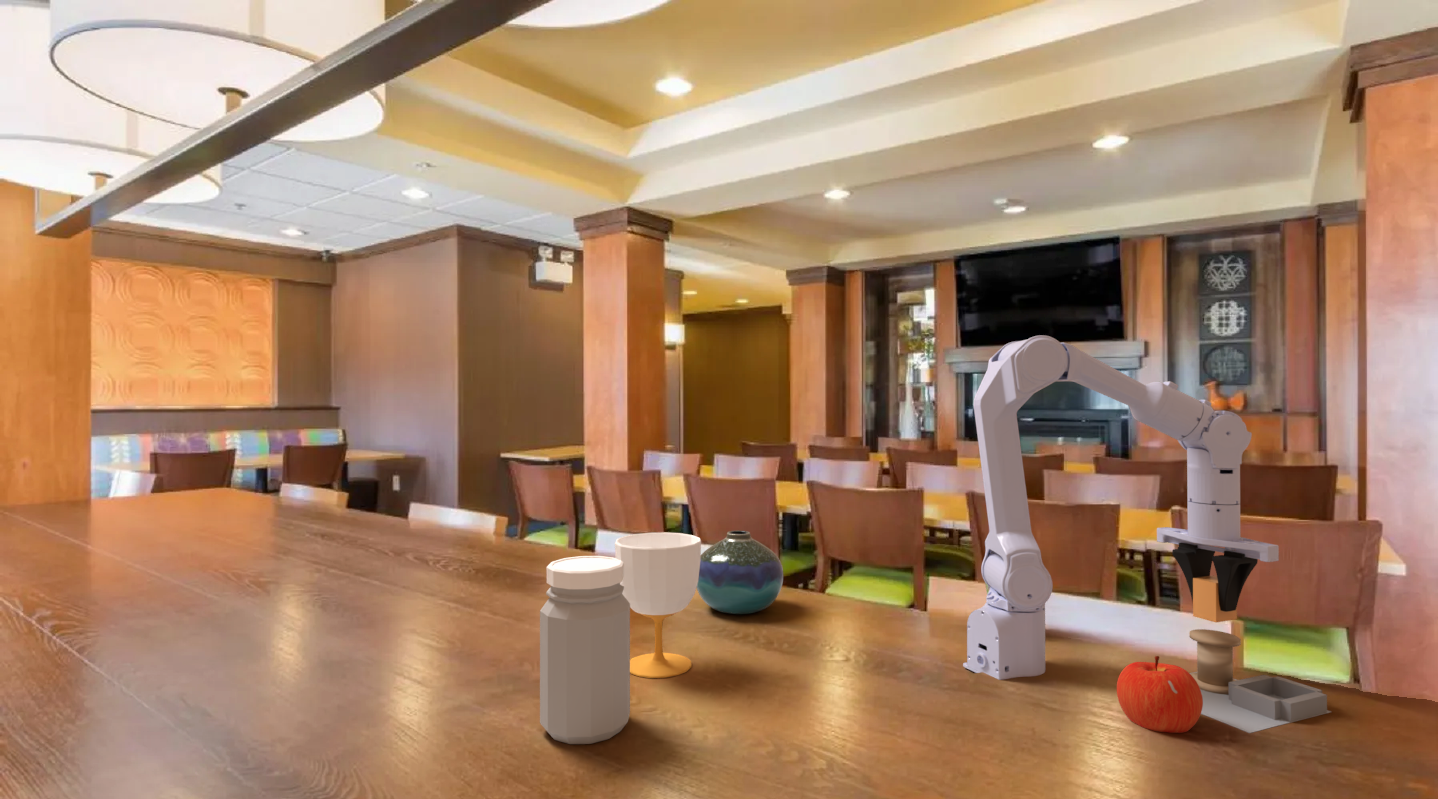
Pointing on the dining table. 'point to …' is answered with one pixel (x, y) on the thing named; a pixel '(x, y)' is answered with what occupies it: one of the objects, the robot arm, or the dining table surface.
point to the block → (1209, 600)
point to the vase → (739, 575)
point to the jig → (1264, 703)
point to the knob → (1214, 659)
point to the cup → (659, 589)
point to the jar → (585, 650)
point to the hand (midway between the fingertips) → (1214, 606)
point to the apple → (1159, 696)
